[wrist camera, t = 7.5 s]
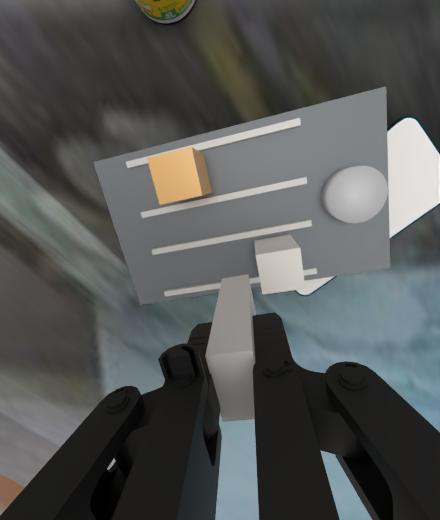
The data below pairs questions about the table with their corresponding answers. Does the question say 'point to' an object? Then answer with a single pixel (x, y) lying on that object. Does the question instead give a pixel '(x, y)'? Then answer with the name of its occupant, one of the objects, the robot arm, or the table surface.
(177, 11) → the supplement bottle
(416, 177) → the smartphone
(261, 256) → the slider ivory
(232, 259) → the console
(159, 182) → the slider orange
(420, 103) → the table surface
